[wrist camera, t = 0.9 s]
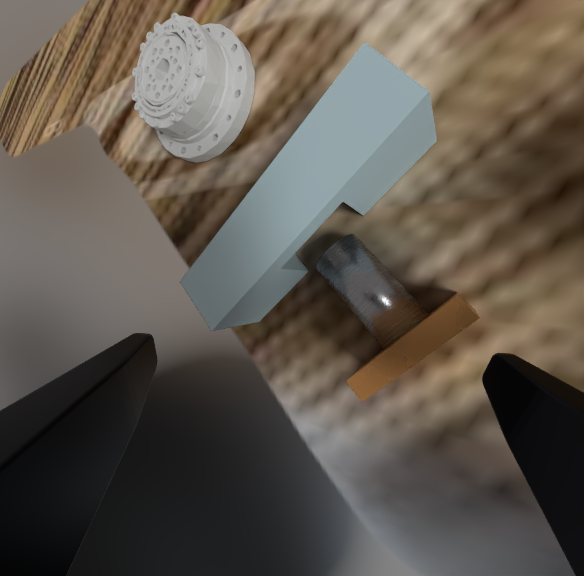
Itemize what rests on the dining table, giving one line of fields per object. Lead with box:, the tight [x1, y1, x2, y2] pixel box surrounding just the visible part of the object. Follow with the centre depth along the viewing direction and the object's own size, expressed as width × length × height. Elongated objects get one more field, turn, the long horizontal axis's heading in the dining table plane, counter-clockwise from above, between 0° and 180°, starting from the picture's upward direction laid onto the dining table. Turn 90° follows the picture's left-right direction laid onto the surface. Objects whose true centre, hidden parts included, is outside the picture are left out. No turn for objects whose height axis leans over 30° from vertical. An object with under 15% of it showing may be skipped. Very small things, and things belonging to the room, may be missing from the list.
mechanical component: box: [132, 13, 255, 163], centre depth 23 cm, size 10×4×10 cm
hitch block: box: [180, 42, 437, 331], centre depth 18 cm, size 4×16×5 cm, turn 132°
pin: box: [316, 234, 480, 402], centre depth 17 cm, size 7×6×4 cm
